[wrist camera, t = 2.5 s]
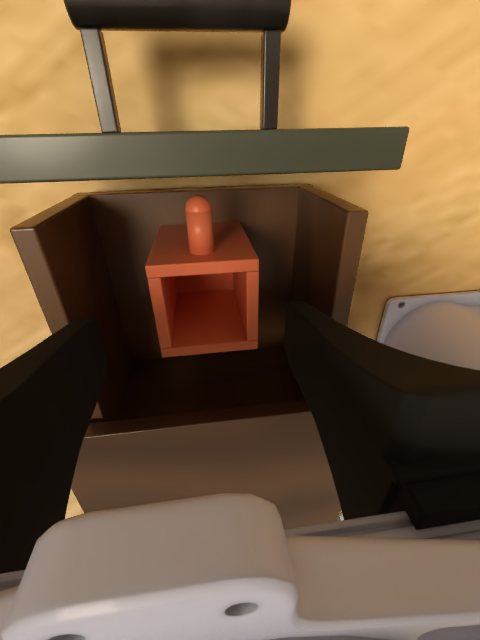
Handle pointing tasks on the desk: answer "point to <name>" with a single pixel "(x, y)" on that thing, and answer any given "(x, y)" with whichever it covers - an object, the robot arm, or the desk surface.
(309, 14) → the desk surface
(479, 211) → the desk surface
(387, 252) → the desk surface
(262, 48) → the drawer
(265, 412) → the cabinet
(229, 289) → the scoop
